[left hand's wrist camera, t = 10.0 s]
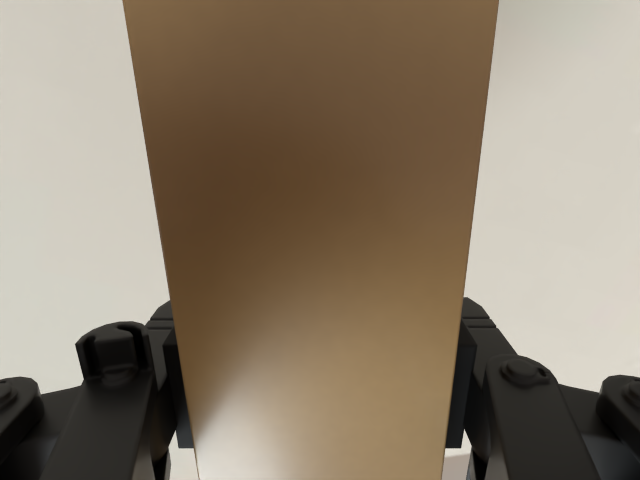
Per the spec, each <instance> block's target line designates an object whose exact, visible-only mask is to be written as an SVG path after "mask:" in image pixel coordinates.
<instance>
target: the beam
mask: <svg viewBox="0 0 640 480" xmlns="http://www.w3.org/2000/svg"><path fill="white" fill-rule="evenodd" d="M498 4H499V0H123V6H124V12H125V19H126V25H127V31H128V38H129V44H130V50H131V56H132V63H133V69H134V75H135V82H136V88H137V94H138V100H139V107H140V113H141V119H142V126H143V132H144V138H145V144H146V151H147V157H148V163H149V169H150V176H151V182H152V188H153V195H154V201H155V207H156V213H157V220H158V226H159V232H160V239H161V245H162V251H163V257H164V264H165V270H166V276H167V283H168V289H169V295H170V301H171V308H172V314H173V320H174V326H175V333H176V339H177V345H178V352H179V358H180V364H181V370H182V377H183V383H184V389H185V396H186V402H187V408H188V414H189V421H190V427H191V433H192V439H193V446H194V452H195V458H196V465H197V471H198V477H199V480H442V471H443V463H444V455H445V446H446V438H447V430H448V421H449V413H450V405H451V396H452V388H453V379H454V371H455V363H456V354H457V346H458V338H459V329H460V321H461V313H462V304H463V296H464V288H465V279H466V271H467V263H468V254H469V246H470V238H471V229H472V221H473V213H474V204H475V196H476V188H477V179H478V171H479V163H480V154H481V146H482V138H483V129H484V121H485V113H486V104H487V96H488V88H489V79H490V71H491V63H492V54H493V46H494V38H495V29H496V21H497V13H498Z"/></svg>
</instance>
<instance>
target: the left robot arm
mask: <svg viewBox="0 0 640 480" xmlns="http://www.w3.org/2000/svg"><path fill="white" fill-rule="evenodd" d="M75 346H76V350H77V354H78V358H79V362H80V366H81V370H82V374H83V378H84V380H83V383H82V385H81V386H77V387H74V388H70V389H65V390H60V391H55V392H51V393H46V394H40V390H39V387H38V384H37V382H35V381H34V380H33V379H32V378H26V377H13V378H5V379H1V380H0V480H169V478H170V469H171V460H170V454H169V448H168V447H169V444H170V442H171V439H172V437H173V435H174V432H175V430H176V435H177V441H178V447H179V448H194V446H193V439H192V433H191V427H190V421H189V414H188V408H187V402H186V396H185V389H184V383H183V377H182V370H181V364H180V358H179V352H178V345H177V339H176V333H175V326H174V320H173V314H172V308H171V301H170V300H169V301H168V302H166V303H165V304H163V305H162V306H160V307H159V308H158V309H157V310H156V311H155V313H154V314H153V316H152V317H151V318H150V321H148V322H147V324H146V325H145V326H144V325H143V324H141V323H137V322H133V321H128V322H116V323H111V324H106V325H104V326H101V327H98V328H96V329H93V330H91V331H90V332H88V333H87V334H85V335H83V336H82V337H81V338H80V339H79V340H78V341H77V343H76V344H75ZM464 429H465V431H466V434H467V436H468V438H469V441H470V443H471V445H472V448H471V454H470V460H469V465H468V471H467V477H466V480H640V378H639V377H634V376H626V375H615V376H609V377H608V378H606V379H605V380H604V381H603V382H602V386H601V389H600V392H599V393H598V392H593V391H588V390H583V389H579V388H574V387H569V386H565V385H562V384H558V382H557V380H556V378H555V377H554V375H553V374H552V373H551V371H550V370H549V369H547V368H546V367H544V366H543V365H542V364H540V363H539V362H536V361H534V360H532V359H530V358H527V357H524V356H519V355H518V354H517V353H516V352H515V350H514V349H513V348H512V346H511V345H510V344H509V342H508V341H507V340H506V338H505V337H504V336H503V334H502V333H501V332H500V330H499V329H498V328H496V325H495V324H494V322H493V321H492V320H491V319H490V317H489V316H488V314H487V313H486V312H485V310H484V309H483V308H482V306H480V305H479V304H477V303H475V302H474V301H472V300H471V299H469V298H468V297H463V304H462V313H461V321H460V329H459V338H458V346H457V354H456V363H455V371H454V379H453V388H452V396H451V405H450V413H449V421H448V430H447V438H446V446H445V448H461V445H462V439H463V433H464Z"/></svg>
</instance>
